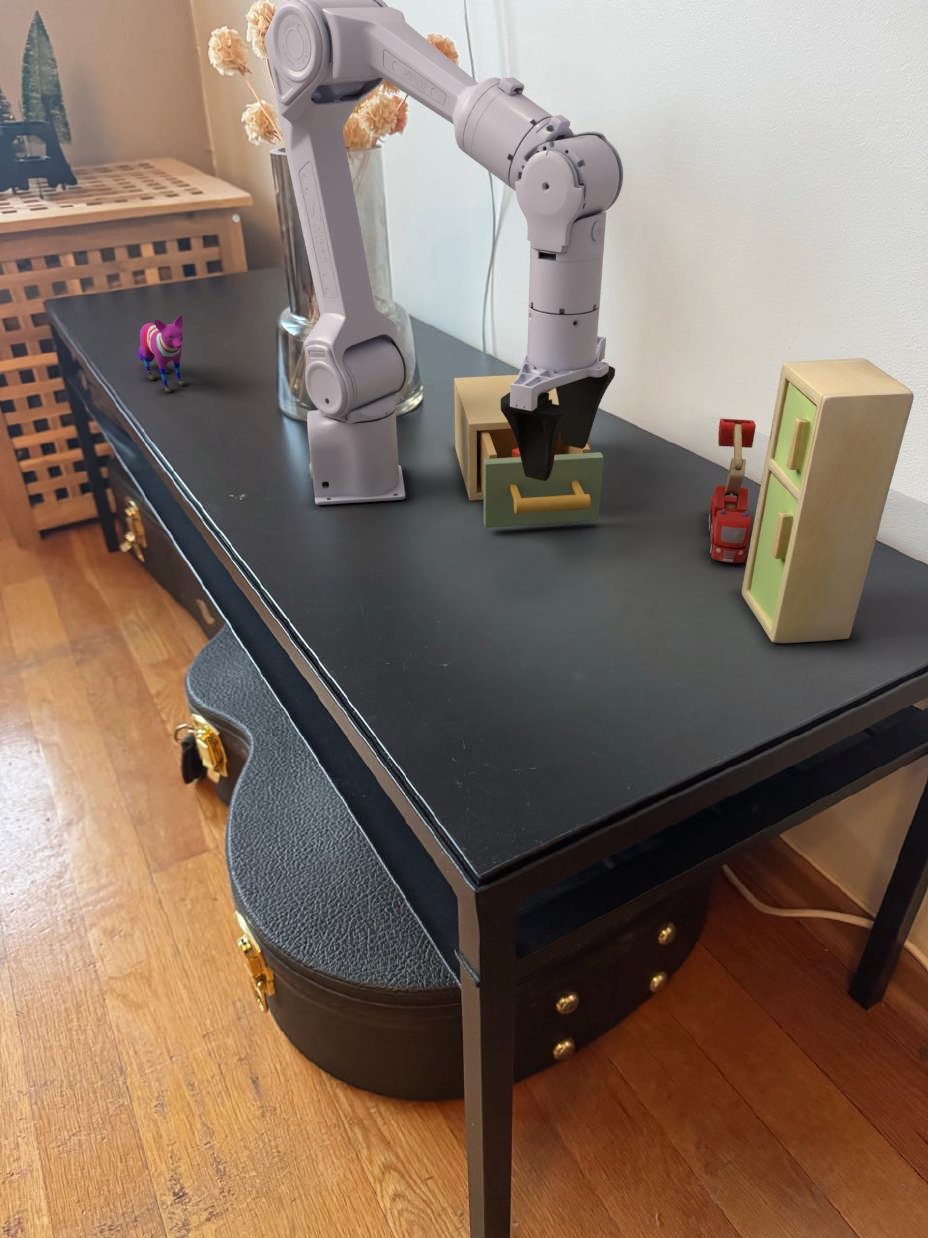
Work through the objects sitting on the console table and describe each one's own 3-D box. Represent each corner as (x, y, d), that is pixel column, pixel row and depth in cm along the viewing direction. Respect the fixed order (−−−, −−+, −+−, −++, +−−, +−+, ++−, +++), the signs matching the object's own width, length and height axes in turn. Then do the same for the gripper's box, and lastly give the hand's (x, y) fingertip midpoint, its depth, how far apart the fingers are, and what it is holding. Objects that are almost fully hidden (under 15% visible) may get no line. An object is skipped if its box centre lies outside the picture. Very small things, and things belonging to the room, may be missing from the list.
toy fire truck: (709, 565, 84) (725, 470, 79) (706, 499, 95) (720, 412, 90) (746, 568, 84) (764, 473, 78) (739, 502, 95) (755, 414, 89)
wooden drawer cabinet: (586, 493, 97) (591, 417, 92) (469, 500, 96) (468, 423, 91) (560, 442, 108) (563, 372, 103) (455, 448, 107) (454, 377, 102)
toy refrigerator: (730, 593, 80) (773, 360, 68) (810, 588, 81) (867, 356, 69) (762, 646, 74) (816, 398, 62) (849, 640, 74) (920, 393, 62)
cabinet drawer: (610, 543, 86) (616, 478, 82) (491, 551, 85) (492, 485, 81) (571, 467, 100) (575, 408, 96) (469, 473, 99) (469, 414, 95)
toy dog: (177, 403, 120) (161, 324, 114) (131, 367, 132) (114, 294, 126) (203, 396, 122) (189, 319, 116) (155, 362, 134) (141, 290, 128)
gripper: (571, 336, 66) (562, 503, 74) (643, 290, 76) (628, 440, 84) (487, 323, 69) (486, 484, 77) (567, 280, 79) (560, 426, 87)
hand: (556, 460), depth 81 cm, fingers open, 7 cm apart
